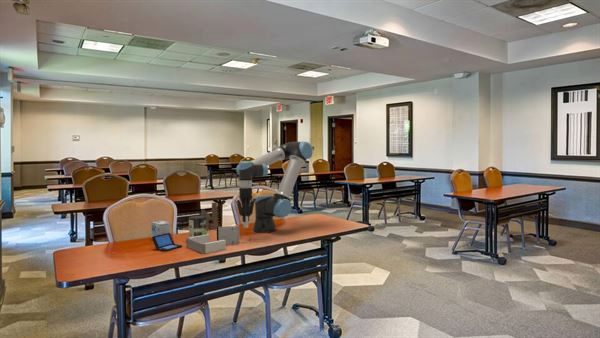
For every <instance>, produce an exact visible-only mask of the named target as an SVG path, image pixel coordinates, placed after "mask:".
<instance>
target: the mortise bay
mask: <svg viewBox="0 0 600 338" xmlns="http://www.w3.org/2000/svg"><path fill="white" fill-rule="evenodd" d="M185 239H186V240H185V241H186V244H185V245H186V248H188V249H190V250H193V251H195V252H198V253H199V254H201V255H205V254H210V253H214V252H219V251H225V250H227V245H226V240H220V241H217V240H216V241H215V240H214V241H211V237H210V234H209V233H207V235H201V236H195V237H189V236H188V237H186V238H185Z"/></svg>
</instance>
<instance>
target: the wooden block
mask: <svg viewBox="0 0 600 338" xmlns="http://www.w3.org/2000/svg"><path fill="white" fill-rule="evenodd" d="M201 215H202V216H206V231H210V230H211V231H212V230H217V227H220V226H219V223H218V221H219V220H218V202H216V201H214V202H213V201H212V202H211V215H210V214H209V212H207V211H206V210H205V209H201ZM210 220H211V223H210Z"/></svg>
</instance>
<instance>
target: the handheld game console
mask: <svg viewBox="0 0 600 338" xmlns="http://www.w3.org/2000/svg"><path fill="white" fill-rule="evenodd" d="M151 239H152V242H153V244H154V246H155V247H154V248H155V250H156V252H157V251H159V252H163V253H165V252H167V253H168V252H170V251H173V250H177V249H181V248H182V247H183V245H182V244H176V243H175V242H174V240H173V237H172V234H171V232H170V233H166V234H161V235H157V236H153V237H152V236H151Z"/></svg>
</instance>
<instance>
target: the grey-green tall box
mask: <svg viewBox="0 0 600 338" xmlns="http://www.w3.org/2000/svg"><path fill="white" fill-rule="evenodd" d="M188 230H189V231H188V234H189V235H188V238H189V237H195V236H201V235H207V234H208V233H207V231H208V230H207V231H206V216H202V214H201V215H190V216H189V217H188Z"/></svg>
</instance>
